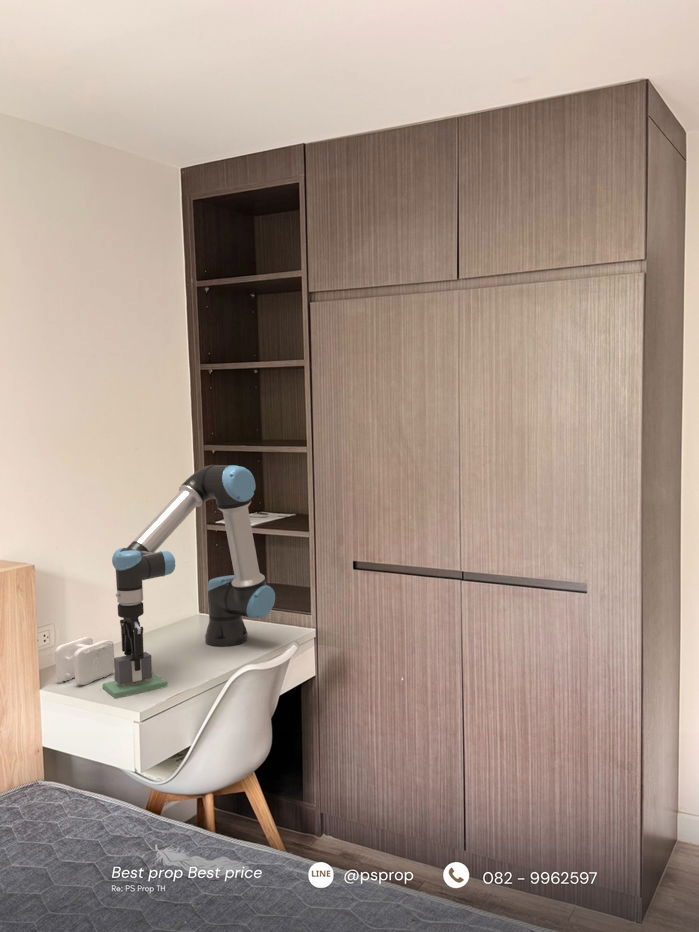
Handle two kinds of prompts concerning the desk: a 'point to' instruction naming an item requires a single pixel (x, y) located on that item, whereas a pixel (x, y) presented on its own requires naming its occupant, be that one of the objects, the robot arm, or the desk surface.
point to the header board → (134, 686)
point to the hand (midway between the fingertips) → (133, 678)
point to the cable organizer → (84, 660)
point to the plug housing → (125, 668)
